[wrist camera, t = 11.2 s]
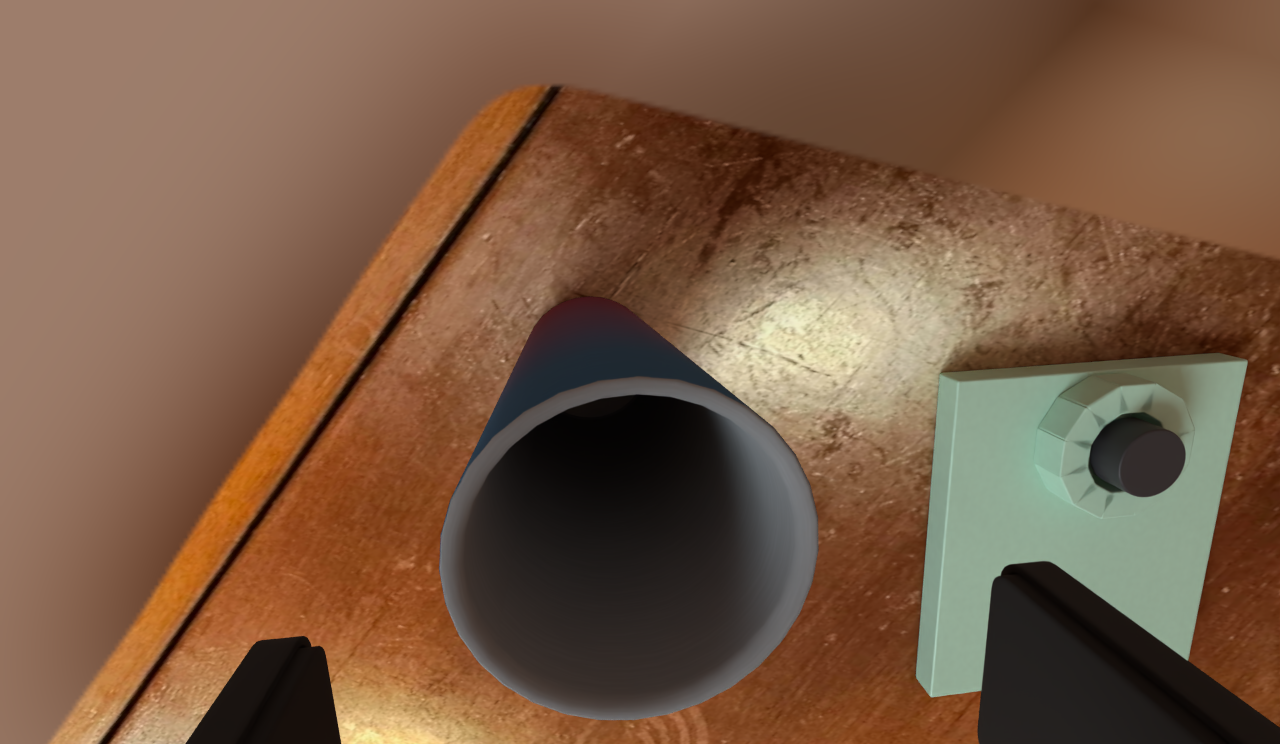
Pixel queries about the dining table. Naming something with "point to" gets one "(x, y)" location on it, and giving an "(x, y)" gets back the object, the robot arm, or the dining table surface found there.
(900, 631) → the dining table surface
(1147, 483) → the tare button
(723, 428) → the cup
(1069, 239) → the dining table surface
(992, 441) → the scale
